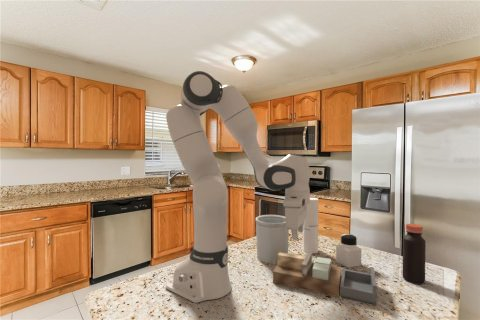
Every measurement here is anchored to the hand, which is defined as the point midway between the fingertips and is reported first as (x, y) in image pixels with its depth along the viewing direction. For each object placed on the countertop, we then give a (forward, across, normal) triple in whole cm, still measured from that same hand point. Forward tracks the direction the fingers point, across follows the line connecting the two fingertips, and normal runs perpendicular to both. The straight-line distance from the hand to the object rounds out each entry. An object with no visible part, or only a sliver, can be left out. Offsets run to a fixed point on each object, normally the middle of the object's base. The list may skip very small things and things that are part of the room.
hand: (298, 235), depth 92 cm
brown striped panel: (+16, 0, +3) cm, 16 cm away
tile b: (+12, -3, +8) cm, 15 cm away
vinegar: (+17, -16, +38) cm, 45 cm away
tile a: (+12, +3, +8) cm, 15 cm away
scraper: (+12, 0, -2) cm, 12 cm away
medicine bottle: (+17, -22, +16) cm, 32 cm away
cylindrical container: (+16, -30, -1) cm, 34 cm away
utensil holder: (+16, -14, -15) cm, 26 cm away
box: (+16, 0, +20) cm, 26 cm away
